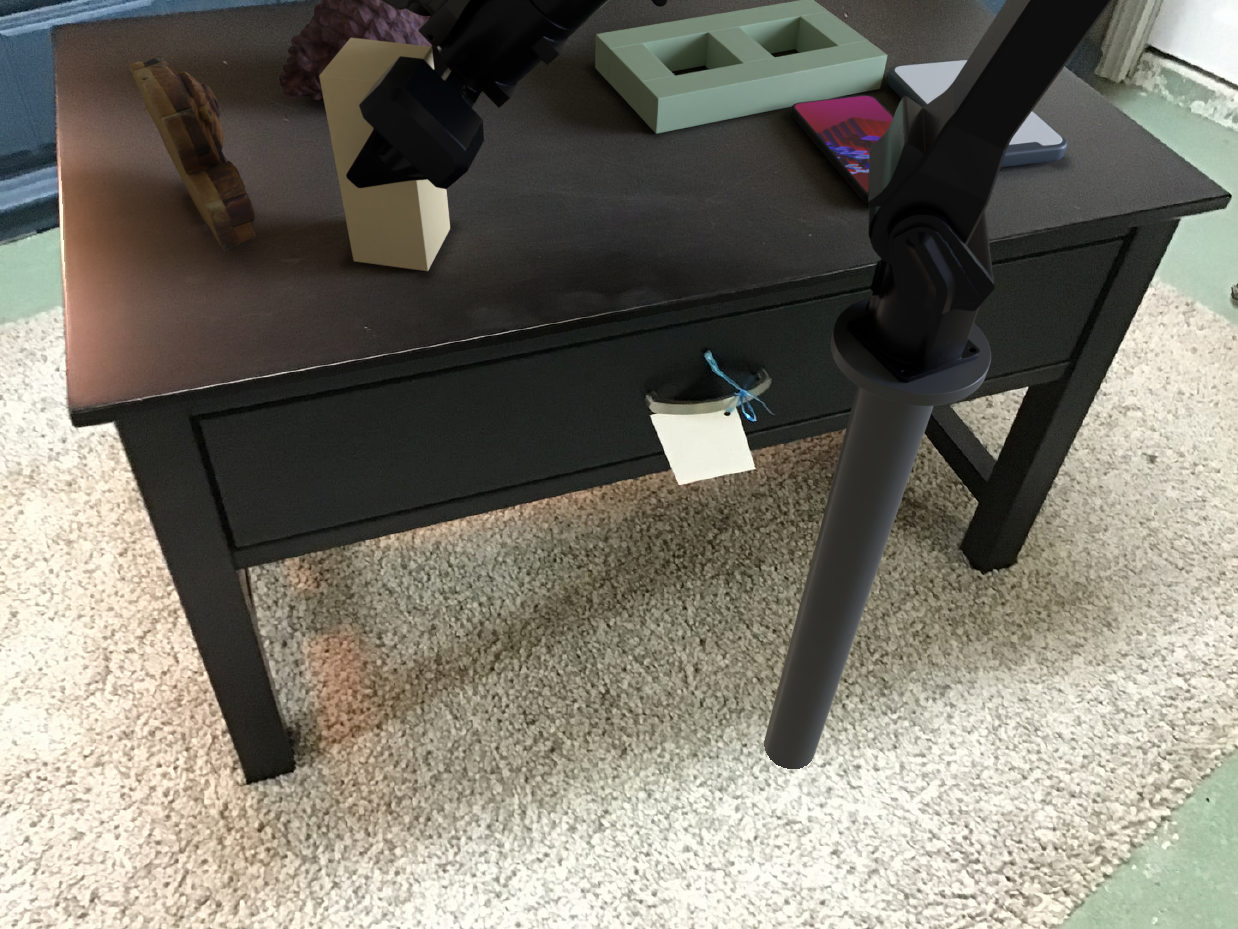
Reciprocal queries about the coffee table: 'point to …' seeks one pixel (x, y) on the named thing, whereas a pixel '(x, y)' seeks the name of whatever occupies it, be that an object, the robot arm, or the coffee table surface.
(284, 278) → the coffee table surface
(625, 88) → the block
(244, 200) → the wooden carving
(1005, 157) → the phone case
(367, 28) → the pine cone
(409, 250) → the cream rectangular block
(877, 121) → the smartphone
